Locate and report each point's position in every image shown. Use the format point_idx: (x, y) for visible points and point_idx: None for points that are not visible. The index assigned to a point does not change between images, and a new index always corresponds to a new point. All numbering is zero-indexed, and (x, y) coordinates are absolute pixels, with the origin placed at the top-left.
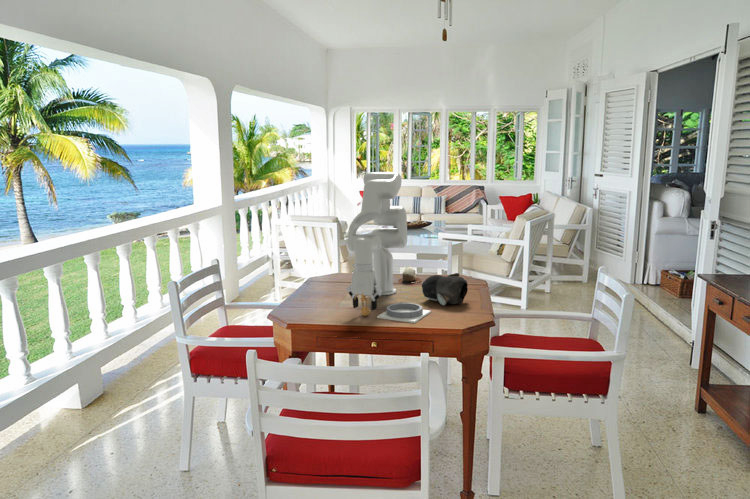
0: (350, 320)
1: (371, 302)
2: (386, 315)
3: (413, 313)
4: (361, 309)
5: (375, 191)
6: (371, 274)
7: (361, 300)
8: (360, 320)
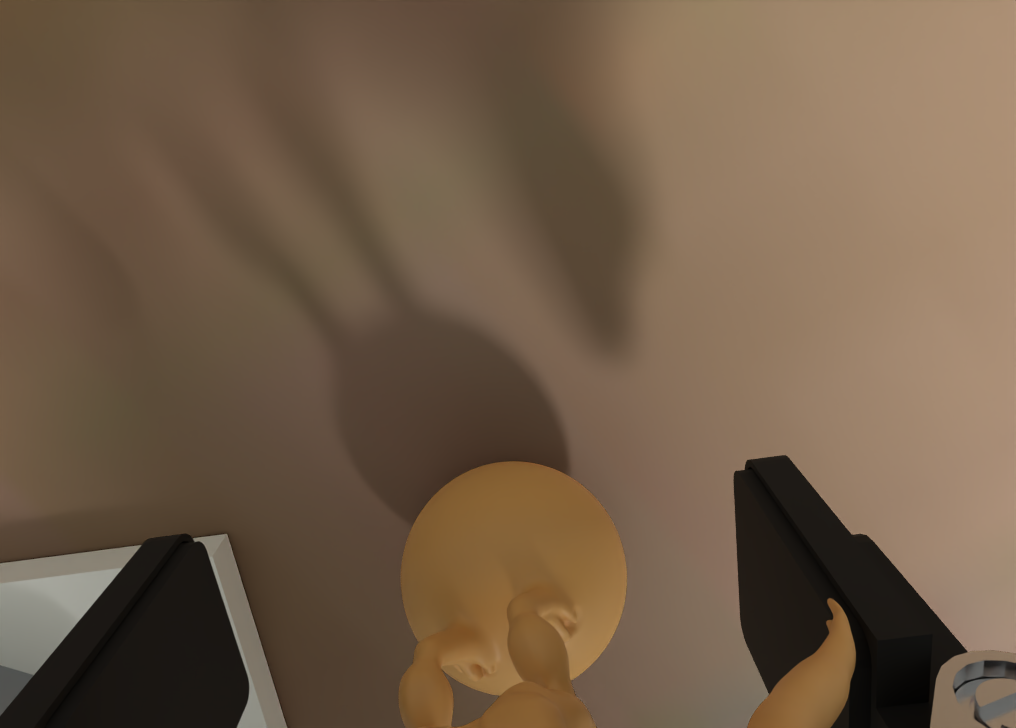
0: (590, 72)
1: (70, 706)
2: None
3: None
4: (570, 534)
5: None
6: None
7: (533, 690)
8: (391, 208)
